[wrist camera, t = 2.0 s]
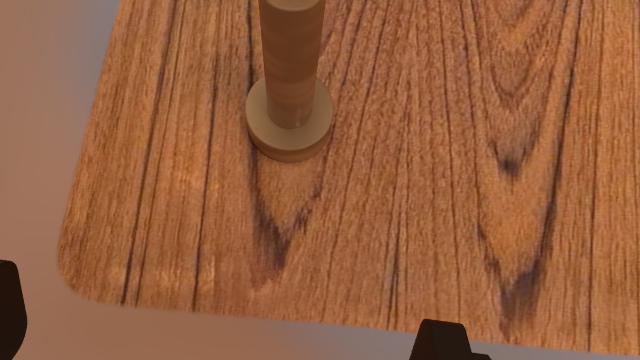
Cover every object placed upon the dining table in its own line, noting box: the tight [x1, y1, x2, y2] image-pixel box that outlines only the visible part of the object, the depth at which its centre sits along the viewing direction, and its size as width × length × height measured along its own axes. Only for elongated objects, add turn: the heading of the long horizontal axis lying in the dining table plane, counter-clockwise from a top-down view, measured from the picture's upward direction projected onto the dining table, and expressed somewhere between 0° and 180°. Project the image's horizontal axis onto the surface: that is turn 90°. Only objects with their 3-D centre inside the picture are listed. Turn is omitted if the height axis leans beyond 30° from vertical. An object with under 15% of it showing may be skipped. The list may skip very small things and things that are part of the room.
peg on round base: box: [245, 0, 334, 162], centre depth 22 cm, size 4×4×12 cm
